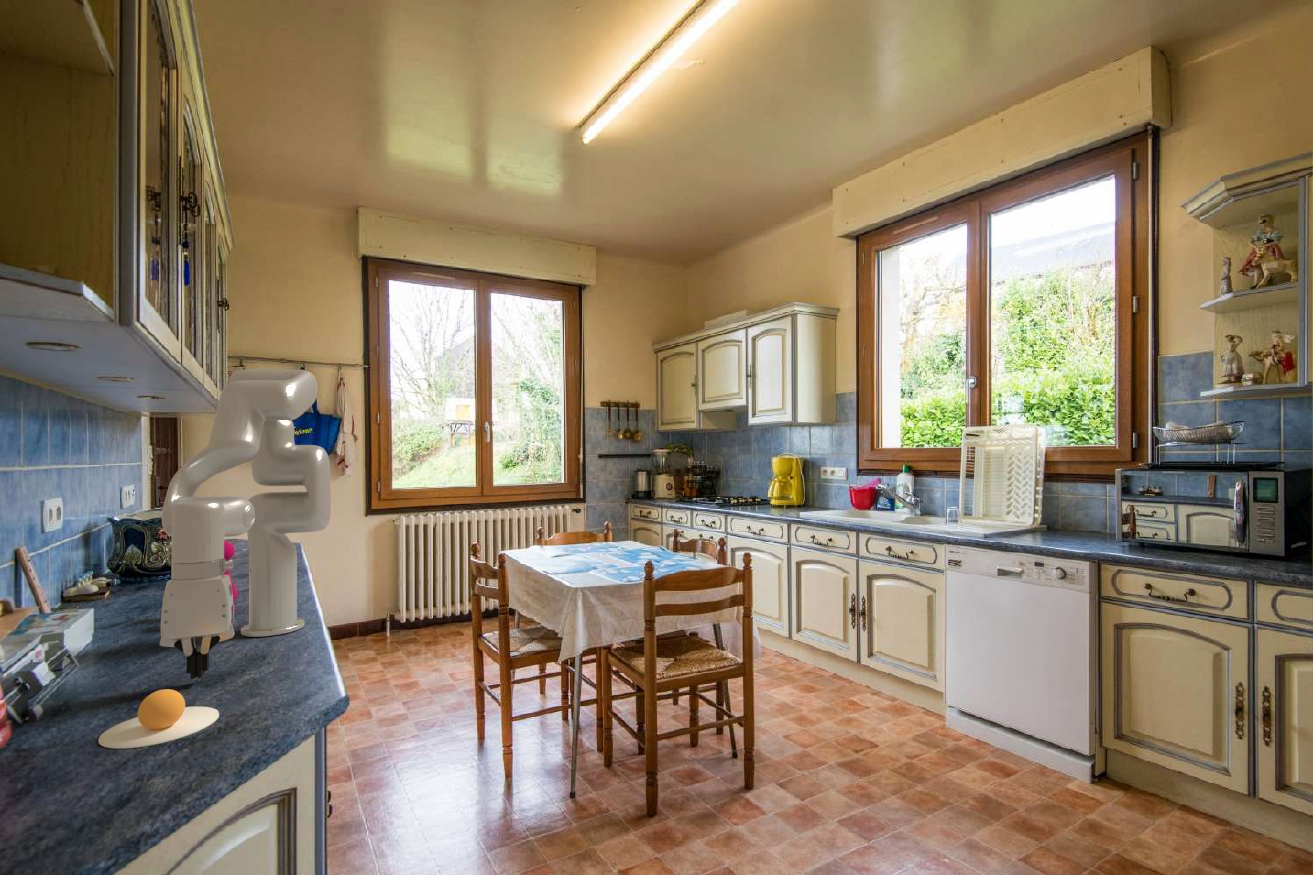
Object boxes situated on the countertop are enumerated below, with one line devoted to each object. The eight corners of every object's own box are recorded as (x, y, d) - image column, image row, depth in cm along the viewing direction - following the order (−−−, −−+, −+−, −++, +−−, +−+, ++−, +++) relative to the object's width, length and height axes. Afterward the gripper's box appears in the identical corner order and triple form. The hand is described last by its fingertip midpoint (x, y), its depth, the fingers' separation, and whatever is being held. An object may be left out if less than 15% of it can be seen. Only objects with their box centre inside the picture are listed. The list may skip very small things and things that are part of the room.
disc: (117, 718, 97) (117, 717, 97) (226, 701, 103) (226, 700, 103) (82, 757, 84) (82, 755, 84) (209, 735, 90) (209, 733, 90)
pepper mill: (237, 608, 168) (237, 532, 168) (237, 614, 162) (237, 535, 162) (204, 612, 164) (204, 535, 164) (202, 618, 158) (202, 538, 158)
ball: (143, 686, 94) (130, 704, 89) (187, 679, 96) (178, 696, 92) (146, 720, 95) (133, 741, 90) (190, 713, 97) (181, 732, 92)
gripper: (251, 563, 118) (251, 663, 118) (151, 571, 112) (151, 676, 111) (245, 570, 112) (245, 675, 111) (138, 578, 105) (138, 690, 105)
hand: (198, 675), depth 111 cm, fingers closed
